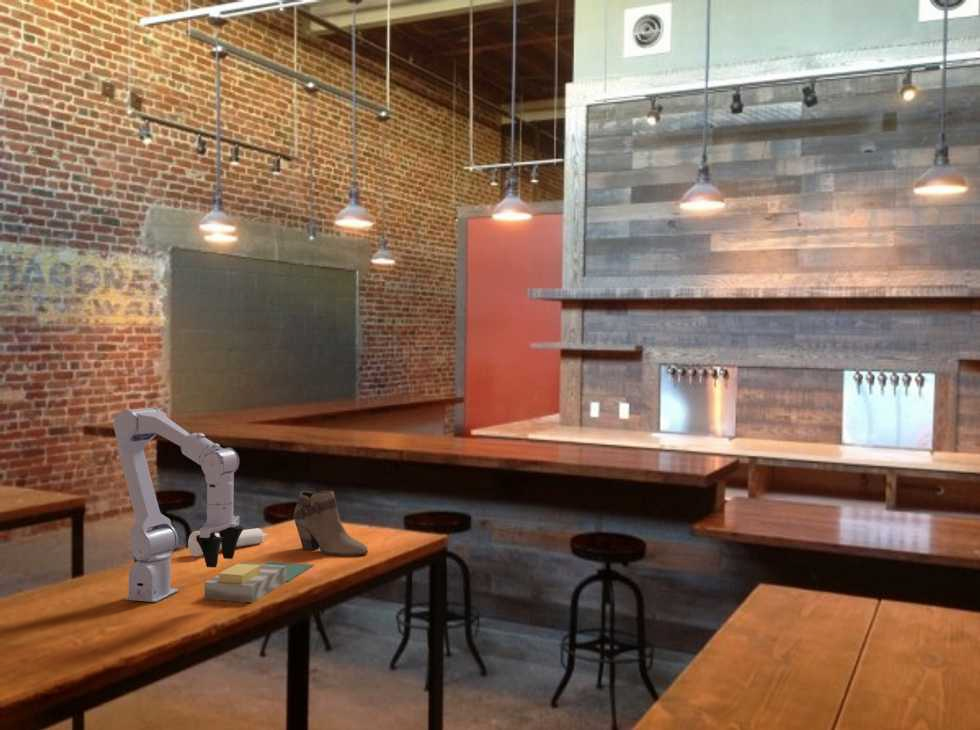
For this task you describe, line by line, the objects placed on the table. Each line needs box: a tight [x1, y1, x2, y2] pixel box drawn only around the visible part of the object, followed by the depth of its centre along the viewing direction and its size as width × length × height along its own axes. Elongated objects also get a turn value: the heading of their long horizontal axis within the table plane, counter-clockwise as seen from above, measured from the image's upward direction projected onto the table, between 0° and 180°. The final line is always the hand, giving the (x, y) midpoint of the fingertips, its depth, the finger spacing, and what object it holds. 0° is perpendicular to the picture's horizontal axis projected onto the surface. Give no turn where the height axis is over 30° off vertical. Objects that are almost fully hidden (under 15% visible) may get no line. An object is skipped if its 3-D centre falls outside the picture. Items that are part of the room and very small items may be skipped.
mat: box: [264, 560, 314, 583], centre depth 225 cm, size 16×13×1 cm
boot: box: [292, 490, 369, 557], centre depth 248 cm, size 8×24×17 cm, turn 73°
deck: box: [204, 562, 287, 604], centre depth 209 cm, size 18×12×4 cm, turn 169°
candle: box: [187, 527, 268, 558], centre depth 249 cm, size 7×7×25 cm
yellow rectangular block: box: [218, 563, 260, 584], centre depth 205 cm, size 9×6×2 cm, turn 168°
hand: (219, 562), depth 196 cm, fingers open, 7 cm apart
